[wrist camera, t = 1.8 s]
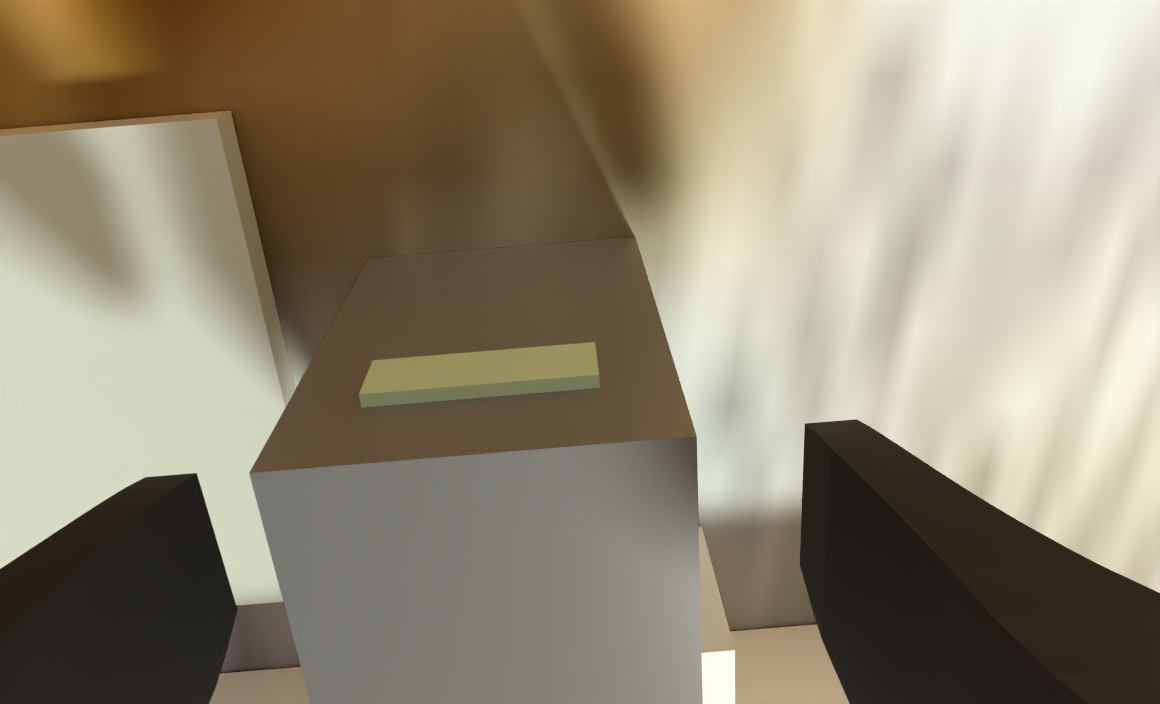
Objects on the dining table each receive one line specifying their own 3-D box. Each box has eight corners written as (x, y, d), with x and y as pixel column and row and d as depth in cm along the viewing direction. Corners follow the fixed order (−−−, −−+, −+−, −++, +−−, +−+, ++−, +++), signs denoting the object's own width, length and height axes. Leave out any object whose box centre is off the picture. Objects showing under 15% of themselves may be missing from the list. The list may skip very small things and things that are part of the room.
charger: (654, 622, 17) (708, 957, 11) (437, 640, 17) (385, 984, 11) (634, 226, 13) (696, 420, 8) (366, 247, 13) (245, 458, 8)
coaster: (338, 575, 16) (330, 597, 15) (-118, 612, 16) (-142, 636, 15) (231, 110, 12) (215, 118, 12) (-347, 157, 12) (-389, 167, 12)
